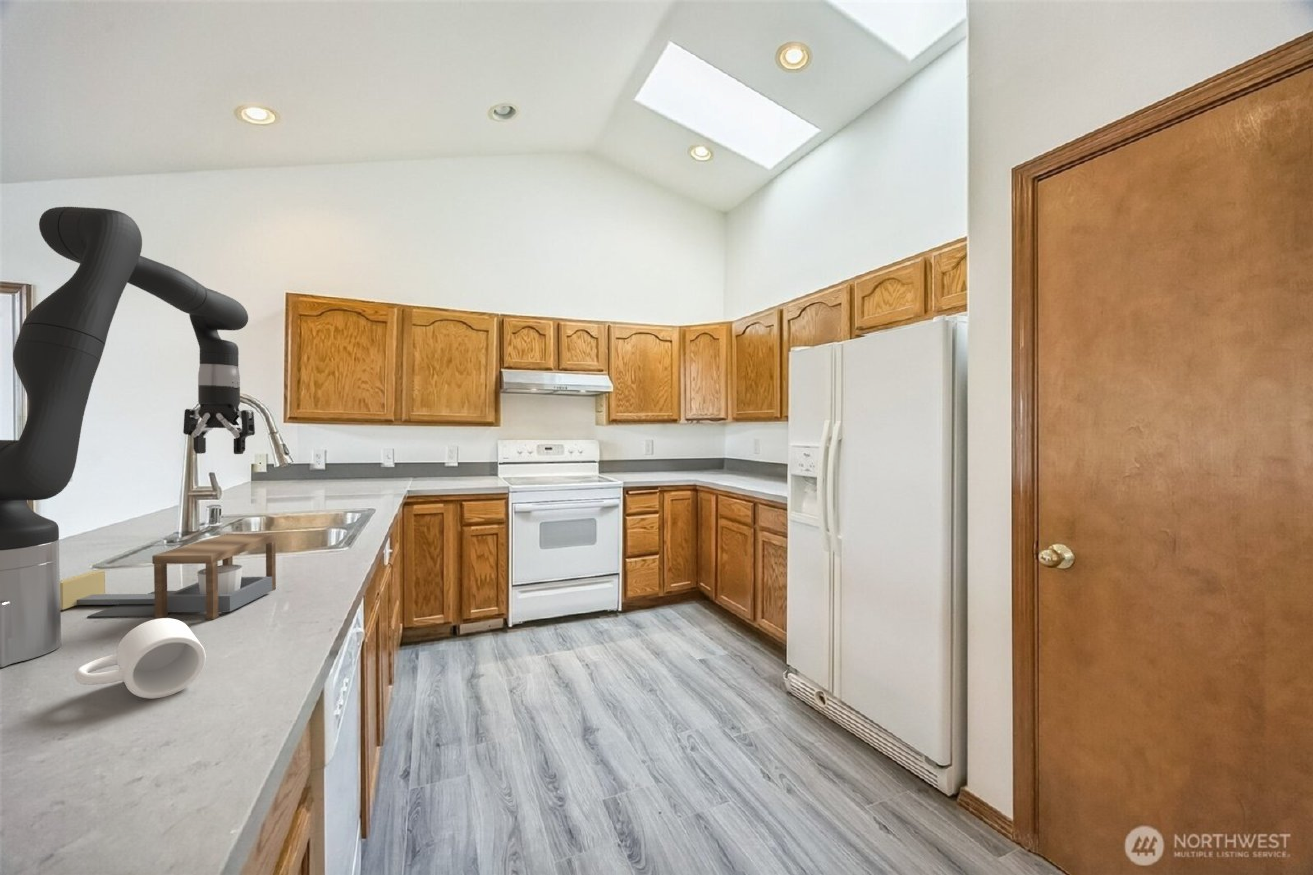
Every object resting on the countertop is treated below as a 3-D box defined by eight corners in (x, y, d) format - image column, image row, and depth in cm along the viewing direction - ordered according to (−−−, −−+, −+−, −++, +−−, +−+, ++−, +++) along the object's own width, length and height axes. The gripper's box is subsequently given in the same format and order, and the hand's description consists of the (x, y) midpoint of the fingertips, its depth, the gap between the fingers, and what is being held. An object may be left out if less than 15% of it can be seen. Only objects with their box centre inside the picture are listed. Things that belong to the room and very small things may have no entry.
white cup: (251, 598, 106) (251, 564, 106) (220, 610, 99) (219, 574, 99) (221, 596, 107) (220, 563, 107) (187, 608, 100) (187, 573, 100)
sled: (230, 611, 97) (229, 585, 97) (39, 613, 95) (39, 586, 95) (272, 590, 109) (272, 567, 109) (104, 591, 107) (104, 567, 107)
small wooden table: (211, 620, 94) (211, 555, 94) (153, 621, 94) (152, 555, 93) (276, 588, 112) (276, 533, 112) (228, 588, 112) (227, 533, 111)
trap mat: (157, 617, 96) (157, 615, 96) (87, 617, 95) (87, 616, 95) (215, 591, 110) (215, 590, 110) (155, 592, 109) (155, 590, 109)
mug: (192, 663, 79) (191, 611, 78) (206, 685, 72) (205, 629, 72) (73, 694, 69) (71, 635, 69) (77, 723, 63) (76, 658, 63)
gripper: (173, 383, 117) (174, 454, 118) (239, 384, 118) (239, 455, 119) (200, 385, 125) (200, 452, 125) (262, 386, 126) (262, 453, 126)
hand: (219, 453), depth 122 cm, fingers open, 8 cm apart
